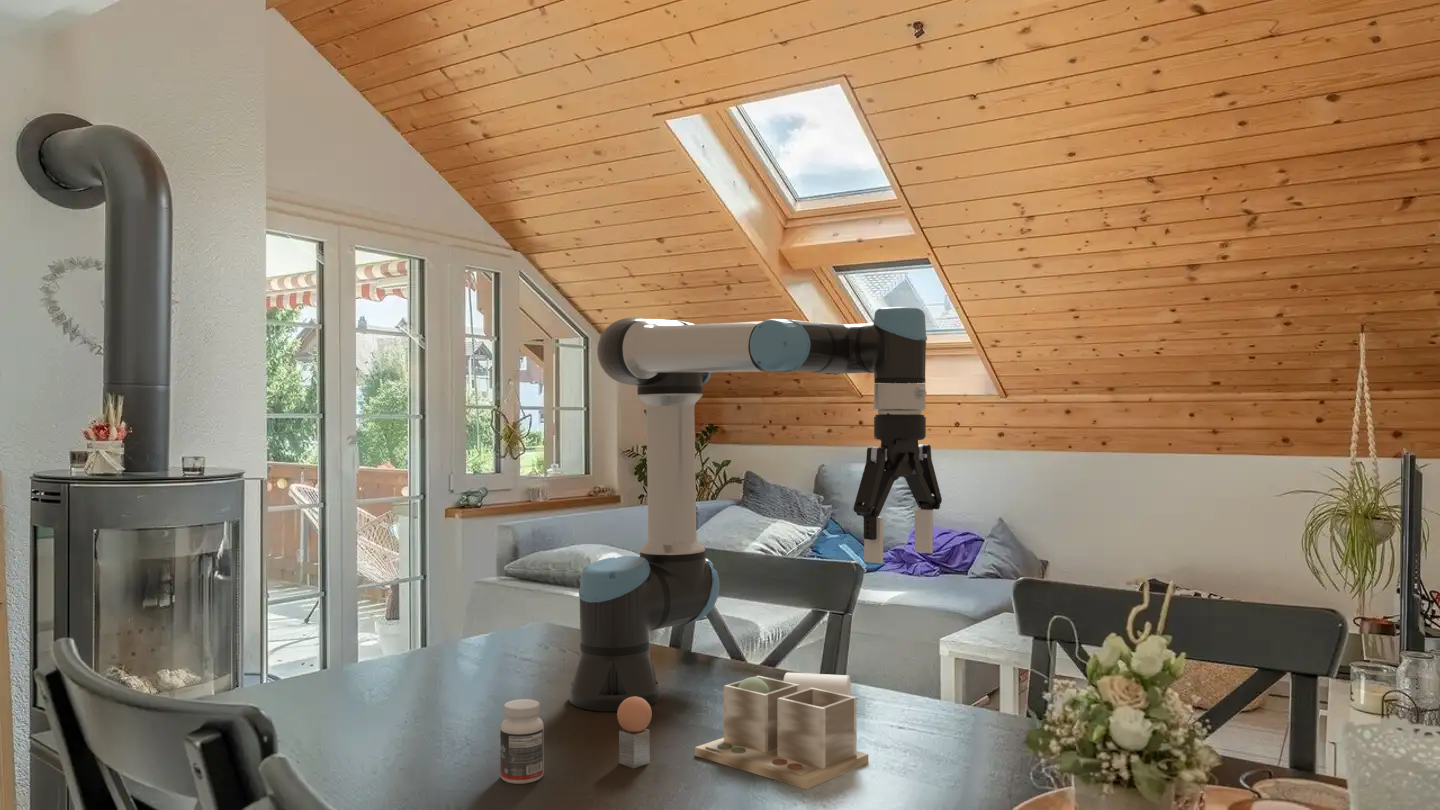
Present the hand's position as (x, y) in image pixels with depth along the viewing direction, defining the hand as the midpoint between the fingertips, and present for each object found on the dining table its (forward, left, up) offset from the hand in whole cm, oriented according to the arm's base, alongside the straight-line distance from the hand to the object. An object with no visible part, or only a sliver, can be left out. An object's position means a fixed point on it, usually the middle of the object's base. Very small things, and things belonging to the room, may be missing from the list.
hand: (899, 557), depth 161 cm
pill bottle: (-29, -46, -28) cm, 61 cm away
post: (-22, -32, -27) cm, 48 cm away
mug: (-15, +1, -28) cm, 32 cm away
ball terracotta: (-22, -32, -21) cm, 44 cm away
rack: (-8, -17, -27) cm, 34 cm away
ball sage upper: (-14, -16, -19) cm, 29 cm away
